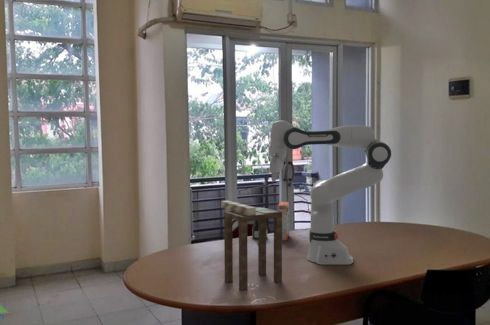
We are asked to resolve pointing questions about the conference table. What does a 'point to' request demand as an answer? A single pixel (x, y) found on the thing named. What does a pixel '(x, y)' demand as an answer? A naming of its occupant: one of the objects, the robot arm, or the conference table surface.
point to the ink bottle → (256, 230)
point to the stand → (261, 217)
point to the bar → (238, 208)
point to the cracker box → (284, 219)
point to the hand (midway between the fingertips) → (275, 180)
